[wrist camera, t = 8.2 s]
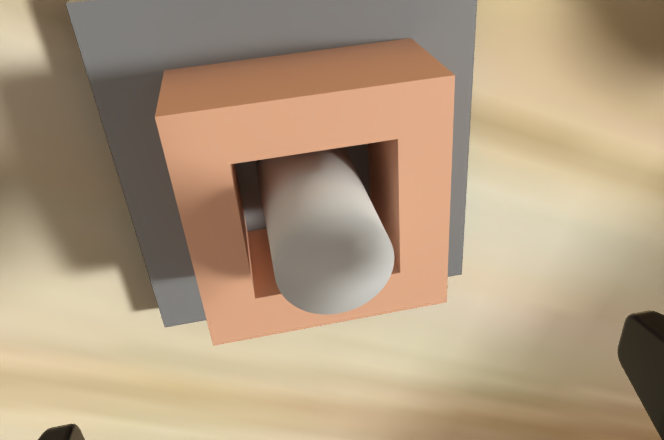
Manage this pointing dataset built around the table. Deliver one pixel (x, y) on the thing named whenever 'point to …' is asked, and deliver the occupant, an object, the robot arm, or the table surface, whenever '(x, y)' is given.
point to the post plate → (233, 38)
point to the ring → (303, 137)
